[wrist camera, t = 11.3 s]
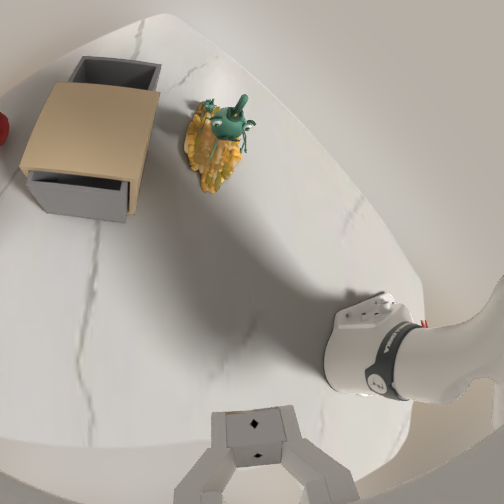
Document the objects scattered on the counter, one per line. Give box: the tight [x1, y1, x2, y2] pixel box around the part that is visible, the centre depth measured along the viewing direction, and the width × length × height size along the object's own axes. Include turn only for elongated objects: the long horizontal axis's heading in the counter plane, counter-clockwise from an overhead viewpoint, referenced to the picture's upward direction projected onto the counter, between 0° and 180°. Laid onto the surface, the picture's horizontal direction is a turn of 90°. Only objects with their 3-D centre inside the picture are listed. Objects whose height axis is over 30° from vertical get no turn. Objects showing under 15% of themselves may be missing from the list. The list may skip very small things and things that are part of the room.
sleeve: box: [19, 82, 160, 215], centre depth 30 cm, size 12×14×12 cm
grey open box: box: [25, 56, 162, 223], centre depth 31 cm, size 20×12×10 cm, turn 177°
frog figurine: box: [184, 94, 256, 194], centre depth 38 cm, size 10×18×15 cm, turn 0°
